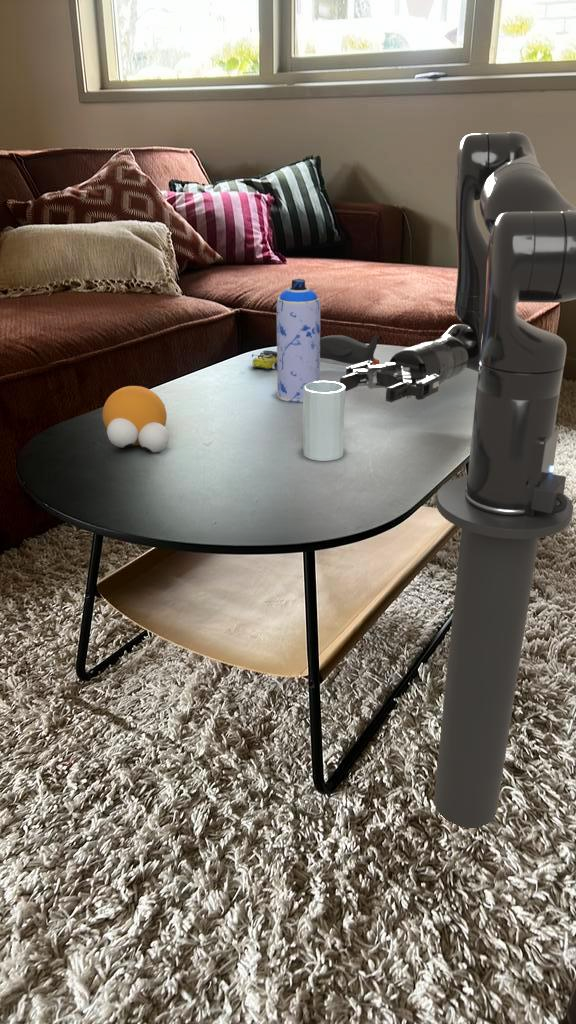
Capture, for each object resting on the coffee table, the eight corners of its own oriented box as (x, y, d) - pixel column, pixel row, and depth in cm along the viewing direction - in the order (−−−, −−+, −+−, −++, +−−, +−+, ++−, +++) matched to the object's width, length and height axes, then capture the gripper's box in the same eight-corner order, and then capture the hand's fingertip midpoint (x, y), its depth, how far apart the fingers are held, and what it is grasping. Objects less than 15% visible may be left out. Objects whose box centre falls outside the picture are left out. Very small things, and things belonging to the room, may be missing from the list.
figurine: (379, 381, 153) (313, 359, 158) (389, 332, 147) (321, 311, 153) (364, 390, 147) (296, 367, 152) (375, 341, 142) (304, 318, 147)
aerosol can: (294, 386, 141) (293, 274, 132) (329, 393, 137) (331, 278, 128) (267, 396, 135) (265, 280, 127) (303, 404, 131) (303, 285, 122)
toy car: (292, 359, 158) (292, 345, 157) (271, 371, 150) (271, 356, 149) (270, 357, 160) (270, 343, 159) (248, 369, 152) (248, 354, 151)
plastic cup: (350, 451, 111) (352, 384, 107) (330, 463, 107) (331, 395, 103) (316, 443, 114) (316, 378, 110) (295, 456, 110) (295, 388, 106)
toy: (94, 448, 120) (109, 452, 106) (94, 386, 119) (109, 382, 105) (153, 449, 124) (175, 453, 110) (154, 389, 122) (176, 385, 109)
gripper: (387, 338, 128) (327, 357, 117) (462, 351, 119) (406, 374, 108) (385, 381, 131) (326, 404, 120) (458, 397, 123) (403, 424, 112)
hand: (364, 390), depth 114 cm, fingers open, 8 cm apart
